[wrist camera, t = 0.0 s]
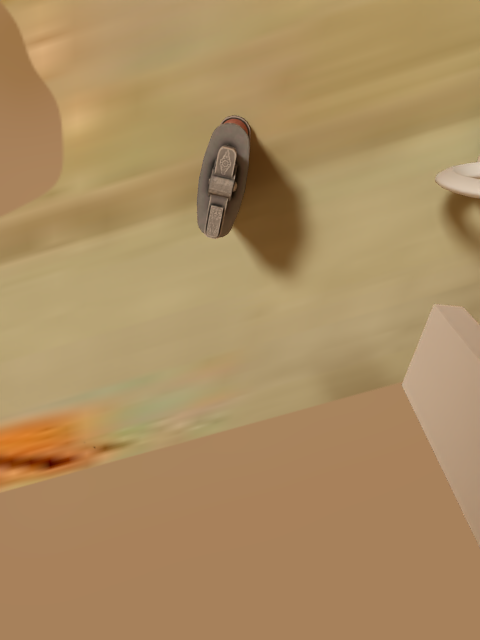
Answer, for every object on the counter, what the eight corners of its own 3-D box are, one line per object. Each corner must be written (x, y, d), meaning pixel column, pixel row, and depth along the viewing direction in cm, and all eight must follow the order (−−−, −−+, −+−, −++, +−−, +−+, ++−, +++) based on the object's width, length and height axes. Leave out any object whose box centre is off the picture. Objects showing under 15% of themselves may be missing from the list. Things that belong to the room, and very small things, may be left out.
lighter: (217, 110, 33) (204, 121, 24) (257, 120, 33) (258, 134, 24) (201, 206, 37) (185, 244, 28) (237, 214, 37) (231, 254, 28)
